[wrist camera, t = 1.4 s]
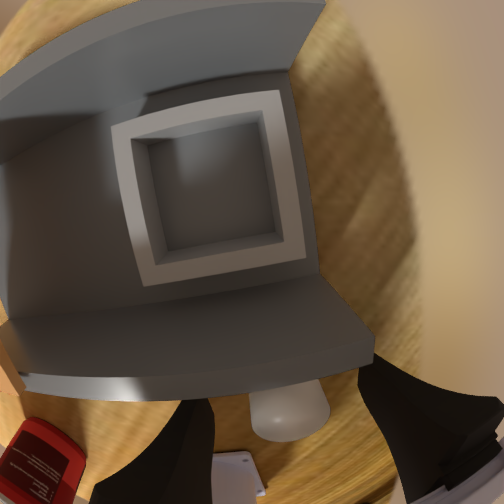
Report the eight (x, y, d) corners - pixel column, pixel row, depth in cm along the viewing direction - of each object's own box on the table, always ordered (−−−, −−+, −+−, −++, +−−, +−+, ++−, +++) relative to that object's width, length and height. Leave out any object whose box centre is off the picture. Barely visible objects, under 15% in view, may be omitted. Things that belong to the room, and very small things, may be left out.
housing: (315, 285, 13) (373, 362, 7) (22, 326, 13) (-31, 376, 7) (279, 62, 10) (316, -20, 4) (-16, 168, 10) (-85, 176, 4)
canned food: (53, 456, 17) (26, 520, 6) (13, 408, 15) (-29, 475, 4) (102, 469, 17) (79, 547, 7) (59, 420, 15) (16, 509, 4)
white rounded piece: (305, 368, 14) (329, 432, 10) (250, 378, 14) (257, 447, 10) (301, 322, 14) (330, 385, 9) (240, 333, 14) (244, 403, 9)
